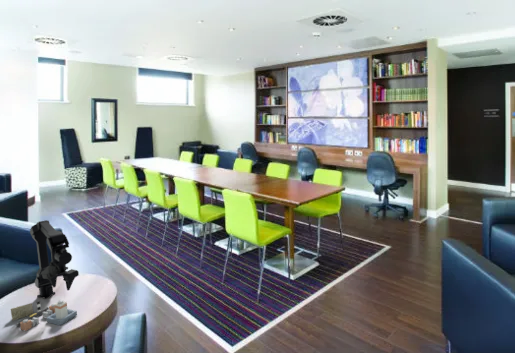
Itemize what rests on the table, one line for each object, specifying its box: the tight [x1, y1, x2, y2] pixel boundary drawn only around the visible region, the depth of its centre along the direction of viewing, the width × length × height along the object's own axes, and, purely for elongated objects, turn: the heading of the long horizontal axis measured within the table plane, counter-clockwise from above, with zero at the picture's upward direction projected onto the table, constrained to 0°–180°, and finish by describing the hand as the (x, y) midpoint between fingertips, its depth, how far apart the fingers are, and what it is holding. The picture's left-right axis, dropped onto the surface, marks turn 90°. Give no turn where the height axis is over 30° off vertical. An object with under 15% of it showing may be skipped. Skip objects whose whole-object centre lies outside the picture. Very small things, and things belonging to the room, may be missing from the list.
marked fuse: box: [54, 299, 68, 320], centre depth 175 cm, size 4×4×8 cm
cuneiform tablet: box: [10, 300, 42, 322], centre depth 178 cm, size 7×4×12 cm
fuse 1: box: [19, 318, 33, 332], centre depth 168 cm, size 3×3×4 cm
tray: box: [46, 308, 78, 326], centre depth 176 cm, size 9×10×2 cm
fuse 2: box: [49, 303, 56, 314], centre depth 182 cm, size 3×3×4 cm
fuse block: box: [16, 306, 53, 328], centre depth 175 cm, size 7×16×2 cm, turn 160°
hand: (61, 288), depth 180 cm, fingers open, 9 cm apart
